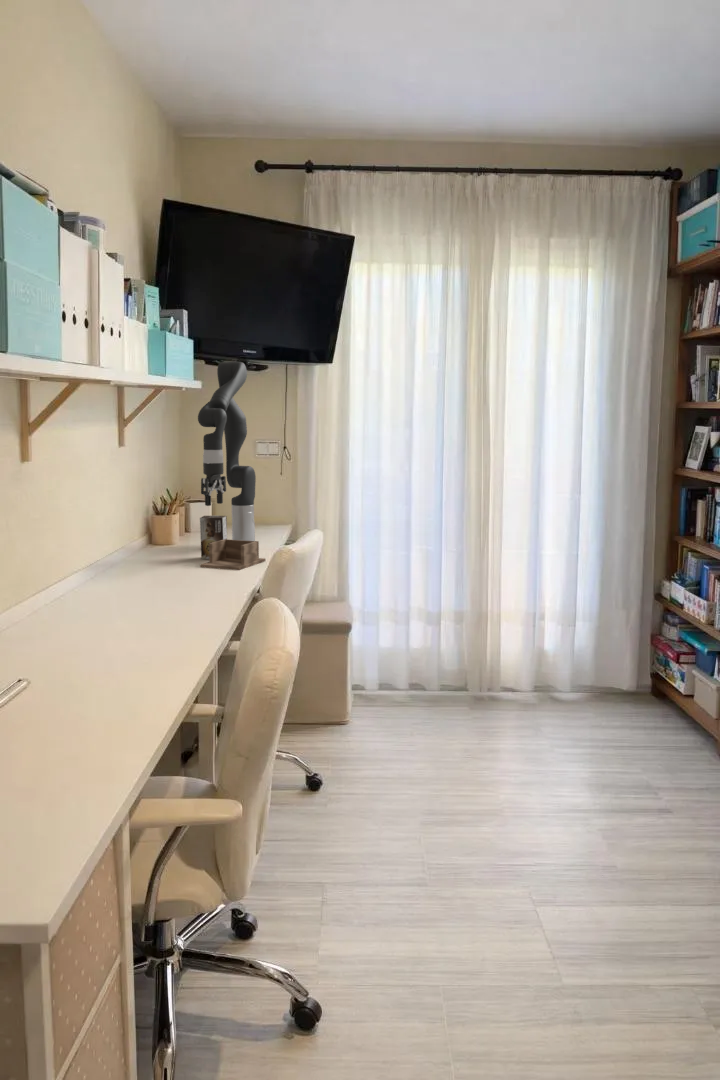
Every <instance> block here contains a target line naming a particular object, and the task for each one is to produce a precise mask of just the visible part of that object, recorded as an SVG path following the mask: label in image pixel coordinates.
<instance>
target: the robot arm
mask: <svg viewBox="0 0 720 1080" xmlns="http://www.w3.org/2000/svg"><path fill="white" fill-rule="evenodd" d="M247 378H248V371H247V366H246V364H245V363H244V362H242V361H224V362H223V361H222V362H220V363H218V365H217V380H218V388H217V389H216V390H215V391H214V393H213V394H212V396H211V397H210V400H209V401H208V402H207V403H205V404H204V405H203V406H202V407H201V409H200V410H199V411H198V414H197V421H198V423H199V425H200V426H201V427H203V428H215V429H214V431H213V432H211V433H205V434H204V435H203V438H202V439H203V441H202V442H203V451H202V452H203V454H202V464H203V465H202V467H203V470H202V471H203V475H205V476H206V477H205V478H204V477H201V480H200V494H201V495H203V496H204V505H205V507H206V506H207V507H210V506H212V493H213V491H216V503H217V504H219V505H220V504H221V505H222V504H223V502H224V497H223V496H224V495H223V494H224V493H225V492H227V484H228V486H229V487H230V488H234V489H241V491H240V493H239V494H238V495H236V496H232V498H231V501H230V502H231V531H232V532H231V540H245V541H256V530H255V529H256V528H255V526H256V522H255V498H256V482H257V481H256V480H257V479H256V472H255V468H253V467H252V466H250V465H240V460H239V459H240V458H239V457H240V455H239V454H240V451H241V448H242V447H243V445H244V442H245V441H246V438H247V435H248V429H247V428H248V427H247V426H248V425H247V418H246V415H245V413H244V411H243V410H242V409H241V407H240V406H239V405H238V403H237V402H236V400H235V398H234V396H235V395H236V394H237V393H238V392H239V390H240V389H241V388H242V386H243V385H244V384H245V383H246V380H247ZM223 438H224V442H225V453H226V454H225V455H226V456H225V458H226V459H225V461H226V463H225V464H226V465H225V466H226V468H225V472H226V476H225V475H223V474H224V451H223ZM226 483H227V484H226Z"/></svg>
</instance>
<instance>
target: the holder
mask: <svg viewBox="0 0 720 1080" xmlns="http://www.w3.org/2000/svg"><path fill="white" fill-rule="evenodd" d="M259 545H260V544H259V540H255V541H245V540H232V539H230V538H229V539H228V538H227V539H224V540H220V541H216V542H212V543H209V559H208V560H209V561H207V562H204V563H201V564H200V566H199V567H200V568H205V567H206V568H209V569H219V568H220V570H233V571H240V570H244V569H246V568H250V567H253V566H255V565H258V564H261V563H264V562H266V558H265V557H263V558H262V557H260V552H259V551H260V550H259V549H260V547H259Z"/></svg>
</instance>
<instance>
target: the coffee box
mask: <svg viewBox="0 0 720 1080" xmlns="http://www.w3.org/2000/svg"><path fill="white" fill-rule="evenodd" d="M227 517H228V516H227V515H203V516H201V517H199V529H200V553H201V555H200V560H209V543H212V542H216V541H220V540H224V539H228V526H227V525H228V519H227Z"/></svg>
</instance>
